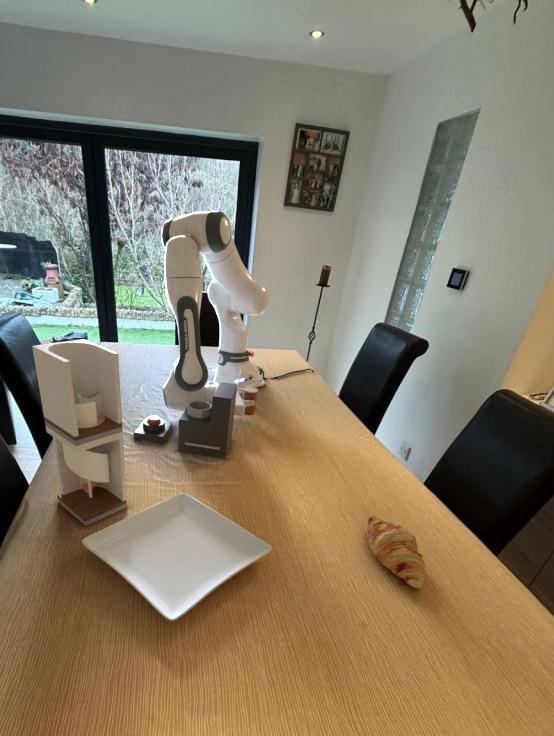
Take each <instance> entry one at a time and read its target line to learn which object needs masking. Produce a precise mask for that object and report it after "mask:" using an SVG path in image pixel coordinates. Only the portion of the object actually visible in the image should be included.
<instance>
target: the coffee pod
mask: <svg viewBox="0 0 554 736" xmlns="http://www.w3.org/2000/svg"><path fill="white" fill-rule="evenodd" d="M244 390H245V391H244V393H245V394H244V398H243V400H245V401H246V400H249V399H254V401H255V405H254V406H248V407H245V412H244V415H243V416H248V417H249V416H251V417H252V416H254V415H255V413H256V404H257V397H258V392H259V389H258V387H256V388H254V387H246V388H245V389H244Z"/></svg>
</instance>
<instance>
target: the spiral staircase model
mask: <svg viewBox="0 0 554 736" xmlns="http://www.w3.org/2000/svg"><path fill="white" fill-rule="evenodd" d="M31 348H32V354H33V359H34V366H35V371H36V377H37V384H38V390H39V395H40V402H41V407H42V413H43V414H42V415H43V418H44V424H45V425H44V427H45V431H46V433H47V434H49V435H50V436H52V439H53V446H54V453H55V459H56V466H57V471H58V478H59V483H60V491H61V493H59V494H57V502H58V504H59V505H60V506H62V507H63V508H64V509H65V510H66V511H68V512H69V514H71V515H72V516H73V517H75V518H76V519H77V520H78V521H79V522H81V523H82V524H83V525H84V526H85V527H86V526H87V527H88V526H89V525H91V524H93V523H96V522H97V521H100V520H103V519H104V518H107V517H109V516H111V515H113V514H116V513H117V512H120V511H122V510H124V509H126V508H128V504H127V485H126V468H125V467H126V466H125V450H124V448H125V447H124V432H123V414H122V397H121V396H122V395H121V380H120V379H121V378H120V361H119V360H120V359H119V353H118V352H116V351H114V350H112V349H110V348H107V347H104V346H102V345H99V344H97V343H95V342H92V341H90V340H87V339H86V338H82V339H74V340H66V341H59V342H51V343H43V344H36V345H32V346H31Z"/></svg>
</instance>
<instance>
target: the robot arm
mask: <svg viewBox="0 0 554 736" xmlns="http://www.w3.org/2000/svg"><path fill="white" fill-rule="evenodd" d="M160 238H161V243H162V246H163V249H164V250H165V251H164V252H165V253H164V286H165V293H166V297H167V302H168V305H169V307H170V309H171V311H172V313H173V315H174V317H175V320H176V326H177V337H178V349H179V356H178V357H177V358H176V359H175V361H174V362H173V366H172V369H171V372H170V375H169V377H168V379H167V381H166V382H165V384H163V387H162V395H163V396H162V397H163V401H164V405H165V407H166V408H167V409H168V410H170V411H173V412H182V413H183V412H184V411H185V409H186V408H187V405H188V403H189V402H192V401H204V402H208V403H209V404H211V405H212V401H213V395H214V393H215V391H216V389H217V388H218V386H219V384H220V382H223V383H230V384H237V393H236V402H235V412H234V417H242V416H245V415H244V412H245V407H248V406H254V405H255V401H254V399H249V400H246V401H245V400H244V394H245V390H244V389H245V388H246V387H254V388H259V387H262V386H263V387H264V386H265V384H266V383H265V381H264V380H268V378H267V377H265V371H264V368H262V367H260V366H259V365H256V364H255V363H254V362H253V361H252V360H251V359H250V358H253V357H254V356H255V352H254V351H252V350H248V343H249V342H248V341H249V334H250V333H249V328H248V326H247V325H246V324H245V322H243V320H242V319H243V318H242V316H241V314H242V315H245V316H262V315H263V314H264V313H265V312H266V311H267V309H268V307H269V304H270V293H269V291H268V288H267V287H265V286H264V285H262V284H261V283H260V282H259V281H258V280H257V279H256V278H254V276H253V275H252V274H251V273H250V271H249V270H248V269H247V268H246V266H245V264H244V262H243V261H242V259H241V256H240V254H239V251H238V248H237V246H236V244H235V241H234V238H233V236H232V226H231V222H230V219H229V218H228V215H226V214H225V213H224V212H223V211H220V210H210V211H194V212H191V213H187V214H183V215H180V216H173V217H170V218H169V219H167V220H166V221H165V222H163V225H162V228H161V231H160ZM200 256H202V258H203V259H204V262H205V263H206V264H205V265H206V266H207V268H208V271H209V272H210V275H211V277H212V280H211V281H210V283H209V285H208V287H207V299H208V301H209V302H210V304H211V305H212V306H213V308H214V310H215V313H216V315H217V319H218V323H219V324H218V325H219V343H218V344H219V345H218V348H217V354H216V359H217V360H216V361H217V363H216V368H212V370H211V371H212V372H215V373H214V377H213V379H212V380H209V381H208V379H209V370H208V367H207V364H206V362H205V360H204V358H203V356H202V349H201V348H202V347H201V332H200V331H201V330H200V315H201V306H202V297H203V272H202V271H203V270H202V262H201V257H200ZM311 369H312V368H305V369H300V370H293V371H288V372H286V373H284V374H282V375H277V376H273V377H270V378H269V380H276V379H279V378H284V377H286V376H288V375H292V374H296V373H303V372H307V371H311V372H312V373H314V372H315V370H314V369H313V370H311ZM261 376H262V378H261Z"/></svg>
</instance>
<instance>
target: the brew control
mask: <svg viewBox="0 0 554 736" xmlns="http://www.w3.org/2000/svg"><path fill="white" fill-rule="evenodd" d="M173 426H174V422H173V421H166V420H164V419H163V418H160V424H157V425H151V424H148V417H147V418H146V417H145V418H144V419H143V421H142V422H141V423H140V424H139V425H138V426H137V428H136V429H135V430H134V432H133V439H134V440H138V441H144V442H145V441H146V442H151V443H158V444H164V443H165V441H166V440H167V438H168V436H169V435H170V433H171V432H172V431H173Z"/></svg>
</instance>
